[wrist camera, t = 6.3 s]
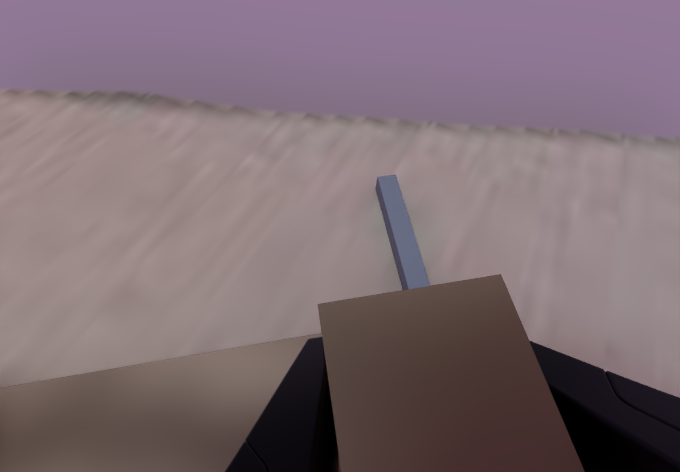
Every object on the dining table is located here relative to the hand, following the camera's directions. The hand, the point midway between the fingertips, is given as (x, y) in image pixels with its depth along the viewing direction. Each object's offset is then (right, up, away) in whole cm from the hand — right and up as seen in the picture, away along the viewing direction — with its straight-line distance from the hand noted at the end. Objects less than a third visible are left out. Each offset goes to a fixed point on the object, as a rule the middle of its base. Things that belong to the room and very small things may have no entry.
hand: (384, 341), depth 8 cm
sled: (-9, -5, +4) cm, 11 cm away
